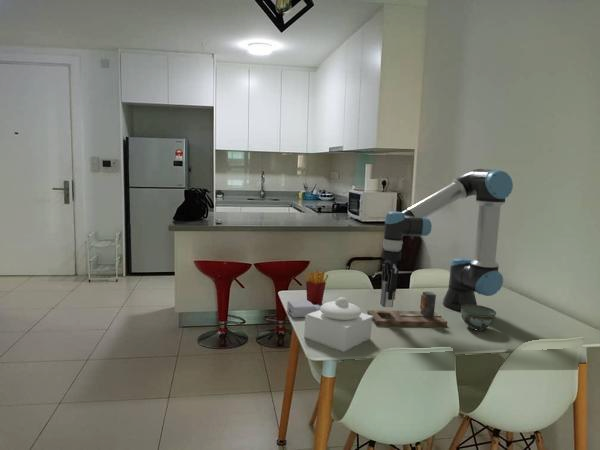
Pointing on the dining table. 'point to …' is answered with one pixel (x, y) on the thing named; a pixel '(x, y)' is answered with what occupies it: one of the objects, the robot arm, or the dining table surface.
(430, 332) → the dining table surface
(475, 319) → the bowl
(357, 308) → the white lidded jar
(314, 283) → the french fries
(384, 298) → the grey orange block
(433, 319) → the brown wooden stand
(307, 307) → the charger
